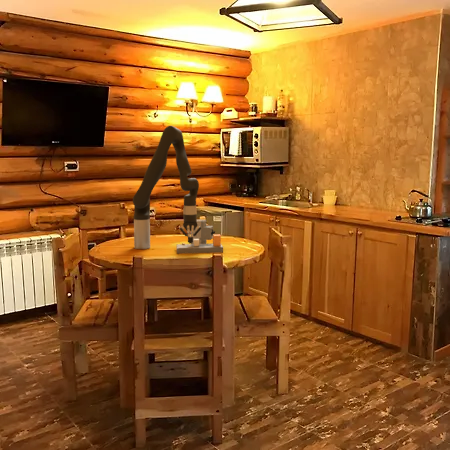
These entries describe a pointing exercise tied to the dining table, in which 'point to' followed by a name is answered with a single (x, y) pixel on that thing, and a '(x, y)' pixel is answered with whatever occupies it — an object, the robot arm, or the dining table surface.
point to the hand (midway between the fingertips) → (190, 243)
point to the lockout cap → (216, 240)
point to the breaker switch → (196, 242)
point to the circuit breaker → (203, 232)
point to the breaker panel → (198, 248)
